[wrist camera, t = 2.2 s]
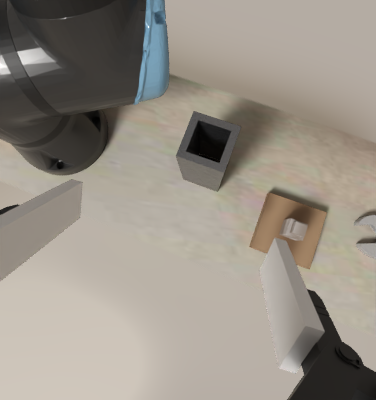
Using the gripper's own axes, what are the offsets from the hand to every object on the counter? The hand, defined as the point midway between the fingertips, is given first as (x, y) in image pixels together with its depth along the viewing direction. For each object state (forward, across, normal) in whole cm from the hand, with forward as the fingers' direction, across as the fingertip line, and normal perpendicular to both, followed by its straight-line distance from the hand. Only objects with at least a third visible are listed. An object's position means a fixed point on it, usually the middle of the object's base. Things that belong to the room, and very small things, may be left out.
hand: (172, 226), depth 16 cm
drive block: (+22, +16, -8) cm, 28 cm away
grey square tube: (+26, +1, -3) cm, 26 cm away
